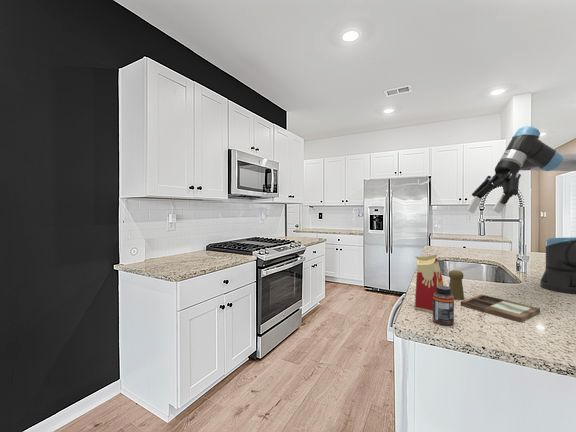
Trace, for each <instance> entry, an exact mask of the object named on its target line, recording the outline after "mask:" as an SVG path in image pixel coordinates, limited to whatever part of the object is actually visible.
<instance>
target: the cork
mask: <svg viewBox="0 0 576 432" xmlns="http://www.w3.org/2000/svg"><path fill="white" fill-rule="evenodd" d="M448 277H449V285H448V287H450V288H451V292H450V293H451V294H452V295H453V296H454V301H455V300H456V301H464V300H465V294H464V293H465V292H464V286H463V279H464V278H465V277H464V273H463V272H462V271H461V270H456V269H455V270H453V269H452V270H449V272H448Z"/></svg>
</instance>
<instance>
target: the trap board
mask: <svg viewBox="0 0 576 432" xmlns="http://www.w3.org/2000/svg"><path fill="white" fill-rule="evenodd" d="M460 306H461V307H464V308H468V309H473V310H476V311H479V312H482V313H486V314H489V315H494V316H497V317H501V318H504V319H508V320H509V321H510V320H511V321H514V322H517V323H523V322H525V321H526V320H528V319H531V318H533V317H534V316H536V315H539V314H540V313H541V308H540V307H537V306H532V305H528V304H524V303H520V302H517V301H512V300H507V299H503V298H499V297H495V296H489V295H485V294H480V295H476V296H473V297H470V298H468V299H464V300H460Z"/></svg>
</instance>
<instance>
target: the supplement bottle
mask: <svg viewBox="0 0 576 432" xmlns="http://www.w3.org/2000/svg"><path fill="white" fill-rule="evenodd" d="M450 292H451V288H450V287H449V286H446V285H444V286H437V287H436V292H435V293H434V294H433V313H432V320H433V322H435V323H436V324H439V325H443V326H451V325H453V324H454V323H455V322H454V320H455V300H454V296H453V295H452V294H451V293H450Z"/></svg>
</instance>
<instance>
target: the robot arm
mask: <svg viewBox="0 0 576 432" xmlns="http://www.w3.org/2000/svg"><path fill="white" fill-rule="evenodd" d="M540 136H541V132H540V130H539V129H538V128H536V127H534V126H522V127H520V128H518V129H517V130H516V132H515V133H514V134H513V136H512V138H511V140H510V141H509V143H508V145H507V147H506V148H505V150H504V151H503V153H502V156H501V157H500V159H499V161H497V164H496V166H495V167H494V175H493V176H491V175H488V176H486V178H485V179H484V181H483V182H482V183H481V184H480V185H479V186H478V187H477V188H476V189H475V190H474V191H473V192H471V193H472V194H471V196H472V197H473V199H472V201H471V202H470V204H469V206H468V208H467V209H466V210H467V211H468V212H470V213H472V214H474V213H475V212H476V210H477V208H478V207H479V205H480V204H481V202H482V200H483V199H482V198H484V196H486V195H487V194H489V193H490V192H491V191H492V190H493V189H496V188H498V187H502V190H503V192H502V193H501V194H500V196H499V198H498V200H497V201H496V202H495V204H494V206H493V208H492V210H493V211H494V212H496V213H498V214H501V212H502V211H503V209H504V208H505V206H506V204H508V202H509V200H510V199H511V198H512V197H513V196H518V194H519V183H520V178H521V177H522V174H520V173H519V172H520V171H541V172H543V171H545V172H576V153H566V152H565V153H559V152H558V151H557V150H556V149H553V147H551V146H549V145H548V144H546V143H544V142H543V141H541V140H540ZM544 270H545V271H544V272H543V274H542V277H541V279H540V281H539V286H540V287H541V288H543V289H545V290H549V291H550V290H551V291H555V292H559V293H566V294H576V237H549V238H547V239H546V244H545V269H544Z"/></svg>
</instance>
